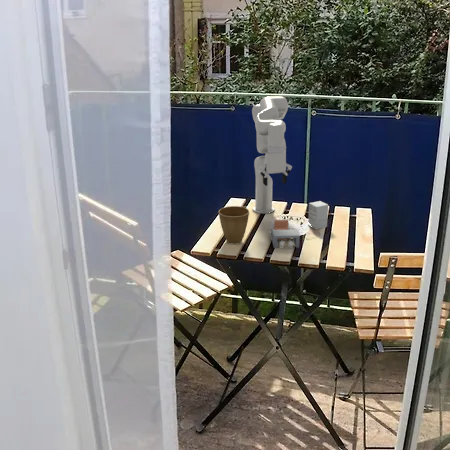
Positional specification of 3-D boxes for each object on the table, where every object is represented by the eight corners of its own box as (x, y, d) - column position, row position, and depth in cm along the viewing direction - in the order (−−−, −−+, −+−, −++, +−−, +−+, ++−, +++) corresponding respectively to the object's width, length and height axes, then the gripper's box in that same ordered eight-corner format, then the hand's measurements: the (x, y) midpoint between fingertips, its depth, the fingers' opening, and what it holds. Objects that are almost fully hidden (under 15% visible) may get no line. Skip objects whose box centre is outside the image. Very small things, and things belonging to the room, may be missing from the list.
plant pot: (221, 235, 287) (221, 205, 281) (250, 236, 284) (251, 206, 278) (216, 246, 273) (216, 215, 267) (246, 248, 270) (247, 217, 265)
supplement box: (319, 222, 302) (320, 200, 298) (327, 227, 296) (328, 204, 291) (307, 225, 299) (308, 202, 295) (315, 229, 293) (317, 206, 288)
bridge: (270, 234, 287) (270, 222, 285) (293, 233, 288) (294, 222, 285) (273, 247, 271) (274, 235, 268) (299, 247, 271) (299, 235, 269)
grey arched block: (274, 231, 291) (274, 219, 289) (287, 231, 291) (287, 219, 289) (276, 240, 280) (277, 228, 278) (290, 240, 280) (291, 228, 278)
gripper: (289, 146, 273) (288, 180, 279) (255, 149, 268) (255, 183, 274) (295, 149, 266) (294, 184, 272) (261, 152, 261) (261, 187, 267)
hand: (274, 184), depth 273 cm, fingers open, 9 cm apart
